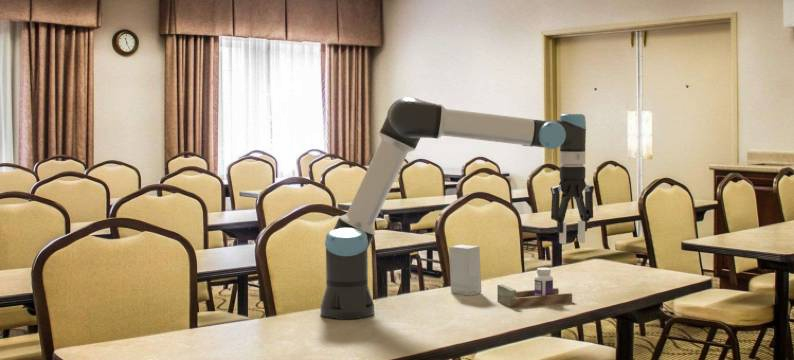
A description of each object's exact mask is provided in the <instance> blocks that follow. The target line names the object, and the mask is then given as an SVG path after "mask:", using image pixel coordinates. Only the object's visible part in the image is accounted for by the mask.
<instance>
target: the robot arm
mask: <svg viewBox="0 0 794 360" xmlns="http://www.w3.org/2000/svg"><path fill="white" fill-rule="evenodd" d="M386 113H387V115H386V118H385V119H384V121H383V124H382V126H381V128H380V131H379V137H380V140H381V141H380V143H379V145H378V147H377V149H376V151H375V153H374V155H373V157H372V159H371V162H370V163H369V165H368V168H367V170H366V171H365V174H364V176H363V178H362V180H361V182H360V185H359V187H358V189H357V191H356V193H355V195H354V197H353V199H352V200H351V204H350V205H349V208H348V210H347V212H346V213H345V214H343V215H340V216H339V217H338V219H337V221H336V223H335V225H334V228H333V229H331V230H330V231H328V232H327V233H326V235H325V240H324V246H325V272H326V274H325V276H326V277H325V278H326V286H325V291H324V292H323V293H324V294H323V297H322V301H321V304H320V315H321V314H322V315H323V316H322V315H321V316H322V317H324V316H326V317H325V318H328V317H330V318H329V319H334V318H337V319H336V320H355V319H354V318H357V319H362V317H364V318H368V317H370V315H371V316H373V315H374V314H375V303H374V301H373V297H372V295H371V292H370V289H369V284H368V283H369V281H368V280H369V279H368V277H369V276H368V274H369V273H368V271H369V270H368V269H369V268H368V267H369V265H368V264H369V263H368V249H369V247H370V245H371V243H372V241H373V239H374V237H375V235H376V232H375V228H374V225H375V222H376V220H377V218H378V216H379V214H380V212H381V210H382V208H383V206H384V204H385V201H386V199H387V197H388V195H389V193H390V191H391V189H392V186H393V185H394V182H395V180H396V178H397V177H398V174H399V172H400V170H401V168H402V166H403V164H404V161H405V159H406V157H407V154H409V153H410V152H412V151H415V150H416V149H417V146H418V143H419V142H420V140H421V139H424V138H425V139H427V138H428V139H439V138H441V137H451V138H458V139H459V138H461V139H468V140H469V139H470V140H477V141H478V140H479V141H486V142H495V143H502V144H504V143H505V144H510V145H511V144H512V145H513V144H514V145H521V146H523V147H531V148H532V147H536V148H537V147H538V148H543V149H544V148H545V149H548V150H554V149H557V148H559V164H560V165H561V166H560V167H559V180H560V181H559V183H558V185H555V186H551V187H550V192H551V210H550V211H551V213H550V214H551V215H550V219H551V220H552V221H556V227H557V228H556V232H557V233H558V235H559V237H558V239H559V244H561V245H567V222H566V221H565V218H566V214H567V210H568V206H569V203H570V201H571V199H572V198H574V200H575V203H576V206H577V211H578V214H579V219H580V220H579V219H578V220H577V242H578V243H580V244H585V243H586V232H587V231H588V222H589V221H590V219H593V218H594V200H593V198H594V196H593V194H594V190H595V186H594V185H590V184H587V183H586V181H585V180H586V166H584V165H585V164H586V140H587V139H586V137H587V126H586V124H587V123H586V116H585V115H584V114H583V113H562V114H560V115H559V120H543V119H532V118H525V117H519V116H518V117H516V116H511V115H510V116H507V115H500V114H499V115H498V114H491V113H484V112H483V113H482V112H476V111H466V110H461V109H460V110H459V109H450V108H446V107H444V106H443V104H439V103H432V102H428V101H425V100H421V99H419V98H415V97H409V96H408V97H402V98H399V99H397V100H396V101H393V103H392V104H391V105H390V107H389V108H388V110H387V112H386ZM583 191H584V194H583ZM561 192H562V193H561ZM560 193H561V194H560ZM560 195H561V197H560ZM560 198H561V200H560ZM367 316H368V317H367Z"/></svg>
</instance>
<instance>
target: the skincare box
mask: <svg viewBox="0 0 794 360" xmlns="http://www.w3.org/2000/svg"><path fill="white" fill-rule="evenodd" d="M480 251H481V250H480V245H469V244H468V245H467V244H457V245H453V246H448V252H449V254H448V255H449V274H450V275H449V277H450V281H449V282H450V293H451V294H458V295H462V296H463V295H464V296H474V295H479V294H482V271H481V254H480V253H481V252H480Z"/></svg>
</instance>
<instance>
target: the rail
mask: <svg viewBox="0 0 794 360" xmlns="http://www.w3.org/2000/svg"><path fill="white" fill-rule="evenodd" d="M559 291H560V290H559V288H557V287H555V288H554V287H553V295H542V296H535V289H531V290H519V291H518V290H516V289H514V288H511V287H510V286H507V285H504V284H497V302H498V303H500V304H502V305H505V306H507V307H509V308H520V307H521V308H522V307H534V306H544V305H554V304H566V303H573V293H572V292H568V293H567V292H566V293H560V292H559Z"/></svg>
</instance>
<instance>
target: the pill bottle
mask: <svg viewBox="0 0 794 360" xmlns="http://www.w3.org/2000/svg"><path fill="white" fill-rule="evenodd" d="M551 274H552V273H551V268H550V267H537V269H536V275H535V276H534V290H535V296H542V295H553V288H554V277H553V276H552V275H551Z"/></svg>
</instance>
